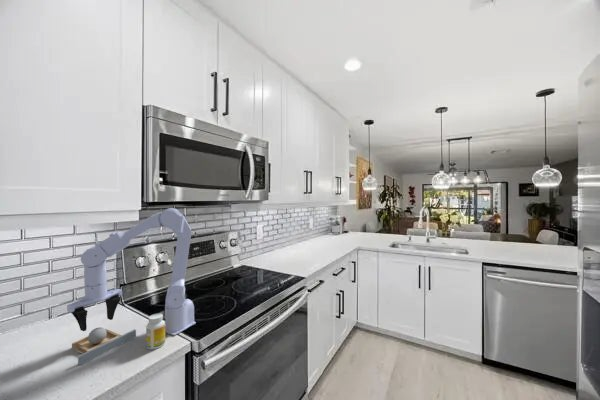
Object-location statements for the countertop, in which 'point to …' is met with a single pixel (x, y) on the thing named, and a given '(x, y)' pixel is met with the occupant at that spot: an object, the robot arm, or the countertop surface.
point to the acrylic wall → (106, 347)
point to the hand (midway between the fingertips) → (97, 324)
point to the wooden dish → (86, 346)
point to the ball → (97, 335)
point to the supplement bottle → (155, 331)
